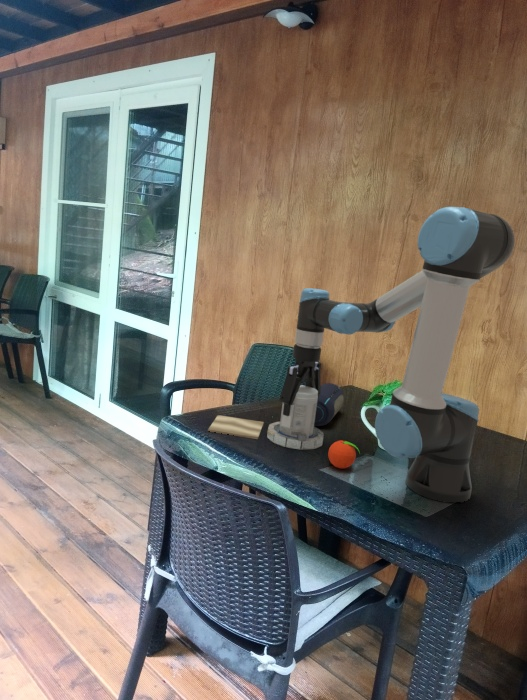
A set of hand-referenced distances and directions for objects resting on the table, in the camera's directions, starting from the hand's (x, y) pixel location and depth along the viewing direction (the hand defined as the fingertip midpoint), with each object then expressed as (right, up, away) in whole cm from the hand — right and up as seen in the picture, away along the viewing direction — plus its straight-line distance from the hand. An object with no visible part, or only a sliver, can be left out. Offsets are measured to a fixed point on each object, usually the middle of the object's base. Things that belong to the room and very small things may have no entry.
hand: (297, 422), depth 160 cm
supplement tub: (-1, -5, +1) cm, 5 cm away
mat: (-17, -2, +4) cm, 18 cm away
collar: (-1, -5, +1) cm, 5 cm away
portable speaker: (+9, -2, +24) cm, 26 cm away
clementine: (+10, -9, -16) cm, 21 cm away
